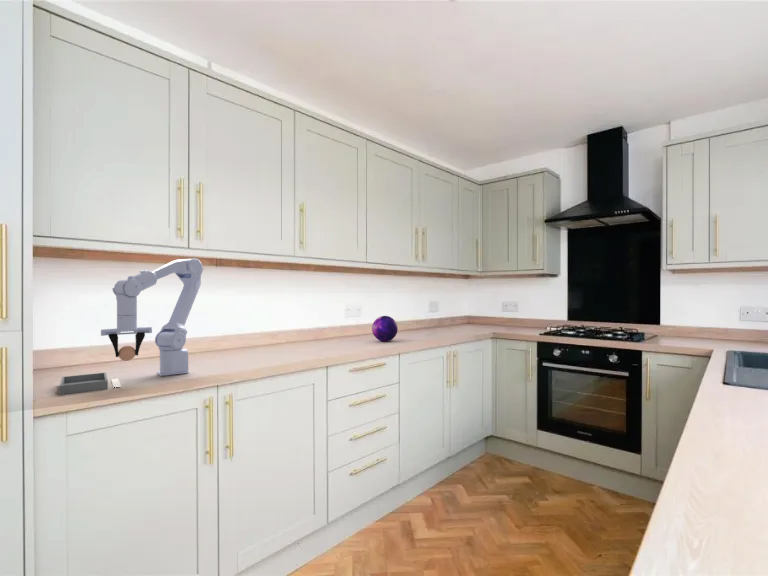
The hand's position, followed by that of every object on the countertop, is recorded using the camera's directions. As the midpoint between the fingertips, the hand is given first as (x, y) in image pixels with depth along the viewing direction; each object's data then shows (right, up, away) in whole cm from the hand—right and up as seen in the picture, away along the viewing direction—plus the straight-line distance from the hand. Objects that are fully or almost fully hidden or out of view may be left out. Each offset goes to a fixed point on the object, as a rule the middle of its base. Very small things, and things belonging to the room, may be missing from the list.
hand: (127, 355), depth 140 cm
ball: (0, +1, 0) cm, 1 cm away
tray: (-10, -9, -6) cm, 15 cm away
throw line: (-3, -9, -1) cm, 10 cm away
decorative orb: (+87, -9, +104) cm, 136 cm away
